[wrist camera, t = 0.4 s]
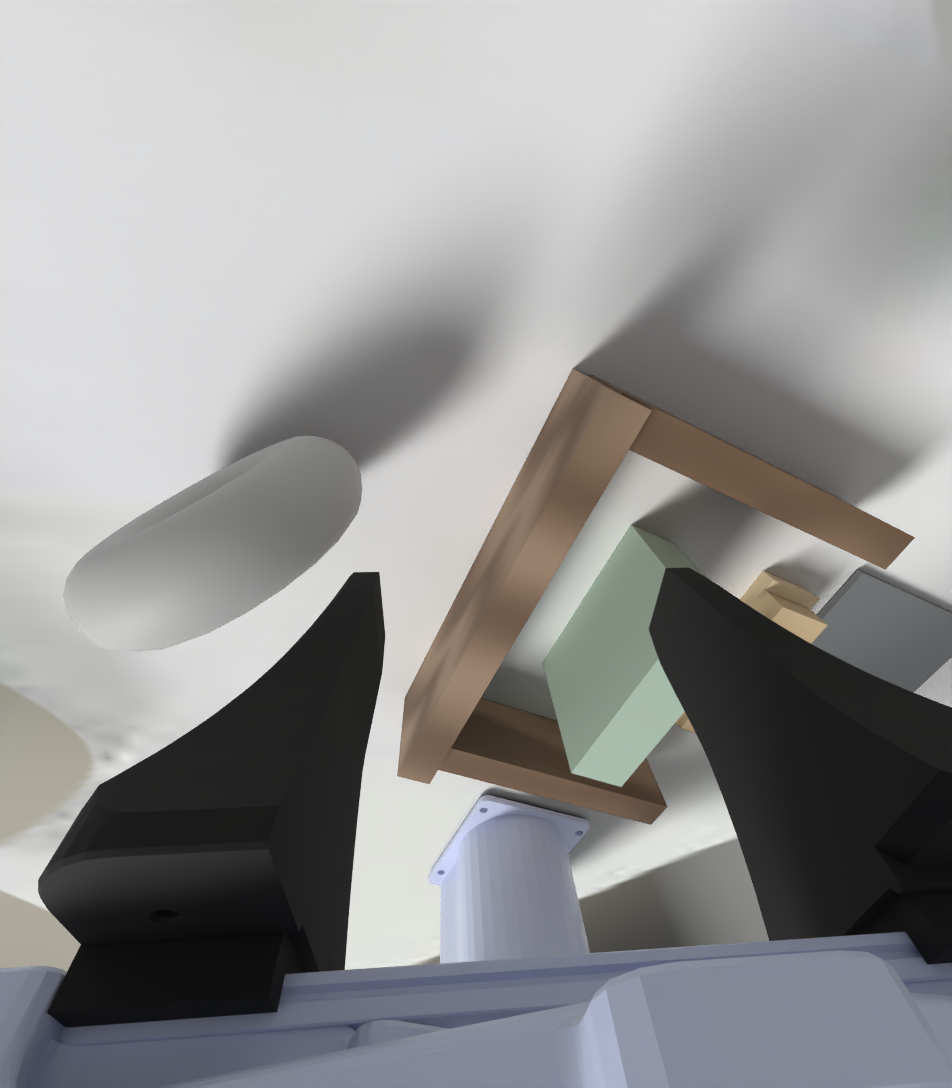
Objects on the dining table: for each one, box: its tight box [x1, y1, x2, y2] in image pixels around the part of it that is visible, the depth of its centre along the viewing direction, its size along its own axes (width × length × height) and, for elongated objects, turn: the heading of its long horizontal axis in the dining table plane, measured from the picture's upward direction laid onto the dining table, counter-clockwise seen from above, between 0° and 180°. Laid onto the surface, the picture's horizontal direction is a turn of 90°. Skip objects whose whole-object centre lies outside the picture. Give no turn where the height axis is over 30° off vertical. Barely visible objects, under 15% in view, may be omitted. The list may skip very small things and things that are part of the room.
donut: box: [63, 436, 362, 652], centre depth 17 cm, size 10×4×10 cm, turn 115°
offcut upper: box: [677, 590, 828, 733], centre depth 26 cm, size 8×3×2 cm, turn 156°
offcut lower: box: [675, 571, 819, 725], centre depth 27 cm, size 10×3×2 cm, turn 156°
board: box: [543, 525, 705, 787], centre depth 22 cm, size 9×2×7 cm, turn 156°
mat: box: [811, 569, 952, 692], centre depth 28 cm, size 11×9×1 cm
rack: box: [397, 369, 915, 824], centre depth 23 cm, size 19×15×5 cm
